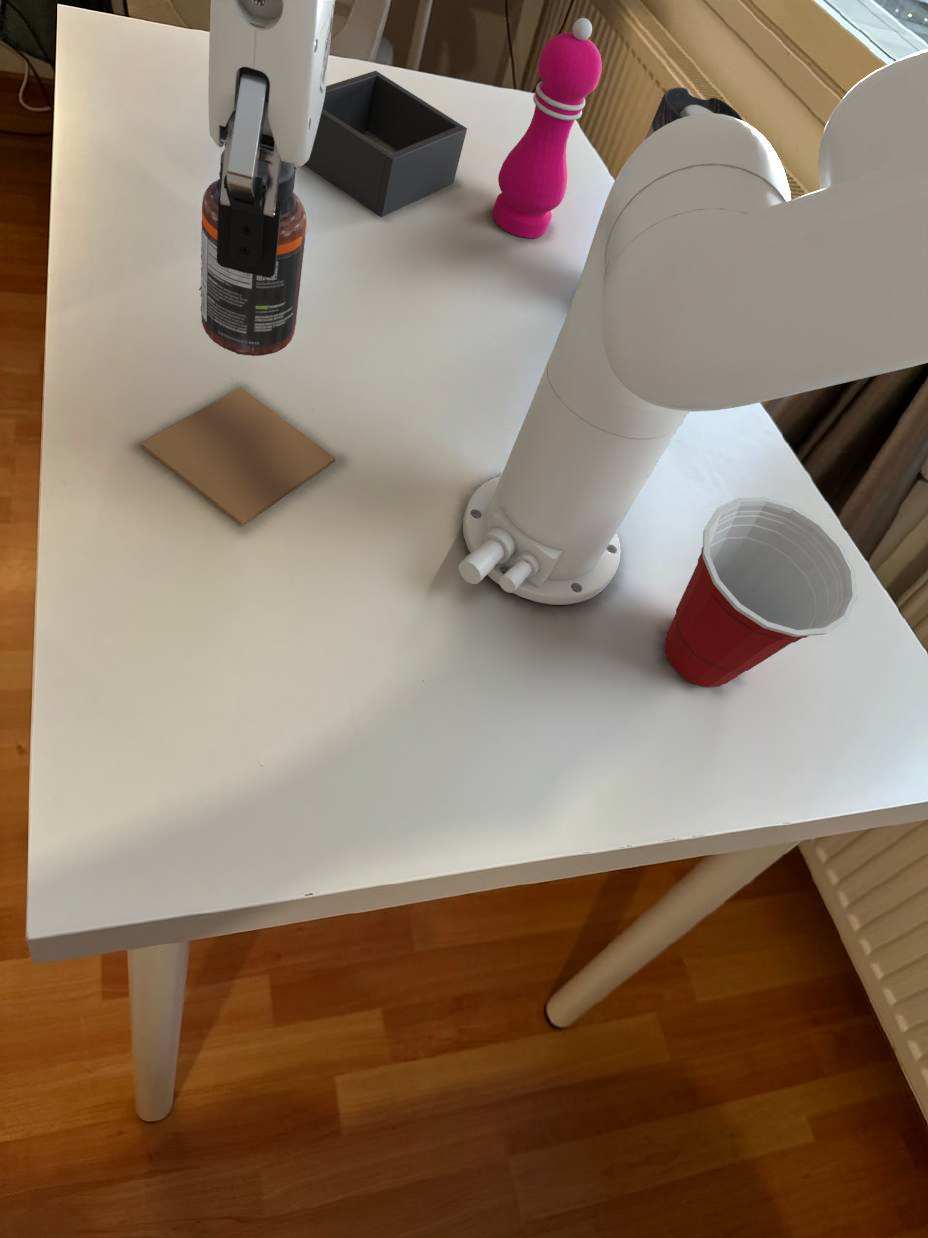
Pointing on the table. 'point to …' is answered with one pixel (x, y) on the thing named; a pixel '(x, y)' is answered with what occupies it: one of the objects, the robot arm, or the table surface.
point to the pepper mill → (547, 134)
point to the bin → (399, 122)
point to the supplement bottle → (253, 278)
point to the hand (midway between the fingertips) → (255, 233)
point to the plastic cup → (757, 590)
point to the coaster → (239, 455)
